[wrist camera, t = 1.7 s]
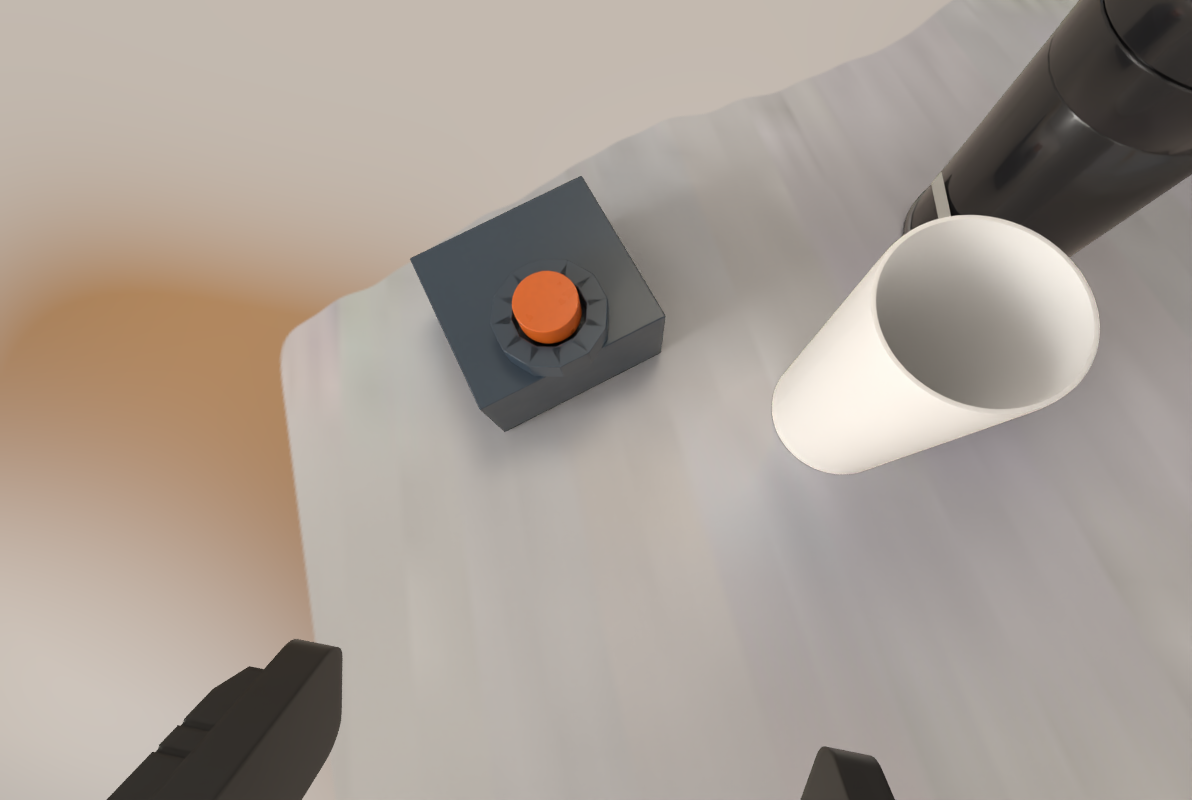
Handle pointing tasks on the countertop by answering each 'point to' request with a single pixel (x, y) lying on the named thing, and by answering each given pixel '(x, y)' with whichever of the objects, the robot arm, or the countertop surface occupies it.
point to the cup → (939, 346)
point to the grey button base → (490, 329)
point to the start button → (547, 307)
